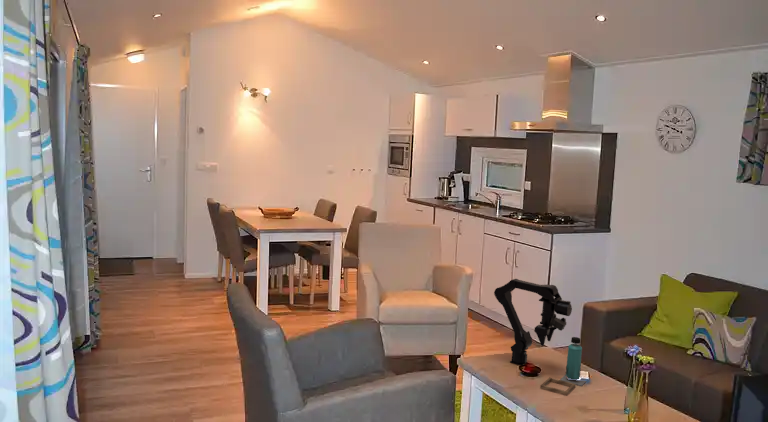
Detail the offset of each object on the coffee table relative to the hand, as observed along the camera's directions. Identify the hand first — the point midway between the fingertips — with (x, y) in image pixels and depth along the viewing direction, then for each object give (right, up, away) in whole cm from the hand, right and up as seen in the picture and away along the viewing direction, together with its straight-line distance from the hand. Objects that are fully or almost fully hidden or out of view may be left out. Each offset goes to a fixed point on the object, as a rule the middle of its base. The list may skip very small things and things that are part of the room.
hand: (545, 343), depth 311 cm
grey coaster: (+11, -15, -10) cm, 21 cm away
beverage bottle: (+9, -15, -11) cm, 21 cm away
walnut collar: (0, -16, -20) cm, 26 cm away
